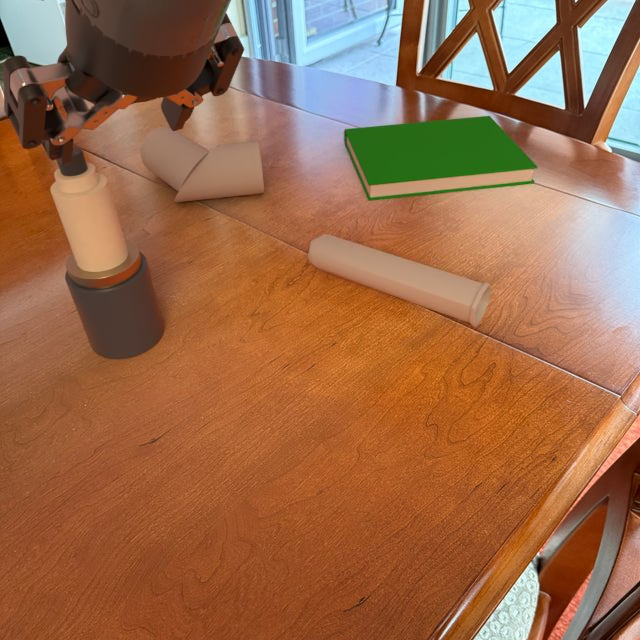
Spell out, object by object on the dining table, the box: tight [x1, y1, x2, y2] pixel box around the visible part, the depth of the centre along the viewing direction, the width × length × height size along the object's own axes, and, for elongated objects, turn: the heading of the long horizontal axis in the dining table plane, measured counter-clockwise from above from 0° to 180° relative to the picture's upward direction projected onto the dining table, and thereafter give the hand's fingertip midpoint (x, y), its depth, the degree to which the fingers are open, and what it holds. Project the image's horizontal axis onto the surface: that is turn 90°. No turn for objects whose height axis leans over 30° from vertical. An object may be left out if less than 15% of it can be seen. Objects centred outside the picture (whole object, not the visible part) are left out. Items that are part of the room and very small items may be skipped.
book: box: [343, 115, 538, 201], centre depth 106 cm, size 22×28×3 cm
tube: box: [307, 233, 492, 328], centre depth 78 cm, size 5×5×25 cm
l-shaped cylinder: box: [140, 126, 265, 203], centre depth 100 cm, size 18×10×20 cm
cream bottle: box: [49, 146, 128, 272], centre depth 63 cm, size 6×6×12 cm
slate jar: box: [64, 238, 165, 360], centre depth 71 cm, size 9×9×12 cm
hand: (117, 134), depth 44 cm, fingers open, 8 cm apart
